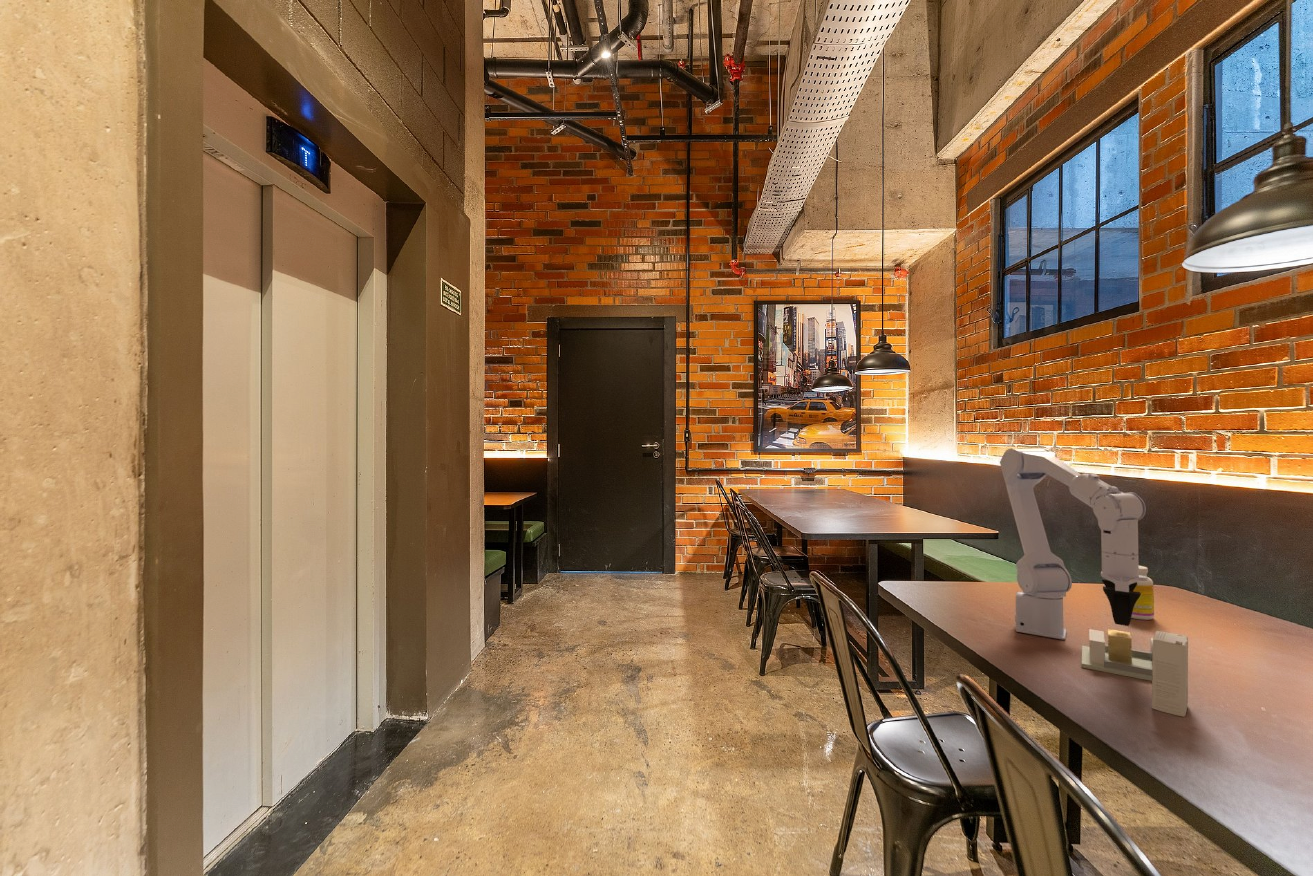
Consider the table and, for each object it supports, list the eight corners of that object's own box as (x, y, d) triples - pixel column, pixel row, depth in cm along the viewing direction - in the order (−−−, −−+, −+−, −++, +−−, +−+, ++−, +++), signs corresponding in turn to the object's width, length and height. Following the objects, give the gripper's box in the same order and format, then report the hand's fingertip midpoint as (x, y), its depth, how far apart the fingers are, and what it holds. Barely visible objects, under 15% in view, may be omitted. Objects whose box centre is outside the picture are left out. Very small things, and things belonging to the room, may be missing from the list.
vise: (1081, 667, 109) (1081, 641, 109) (1082, 649, 119) (1081, 625, 119) (1177, 686, 101) (1177, 657, 101) (1169, 664, 110) (1169, 639, 110)
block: (1109, 662, 110) (1108, 635, 110) (1108, 655, 113) (1107, 629, 113) (1132, 666, 107) (1131, 638, 107) (1130, 659, 111) (1129, 632, 111)
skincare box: (1154, 697, 96) (1153, 629, 96) (1190, 706, 93) (1188, 635, 93) (1151, 709, 92) (1149, 638, 92) (1188, 719, 89) (1186, 645, 89)
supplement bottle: (1160, 621, 136) (1159, 570, 136) (1130, 620, 137) (1129, 569, 138) (1142, 613, 143) (1141, 564, 143) (1113, 611, 144) (1112, 563, 144)
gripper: (1149, 561, 102) (1150, 633, 102) (1143, 548, 113) (1144, 614, 113) (1101, 556, 106) (1102, 626, 106) (1099, 545, 118) (1100, 608, 118)
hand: (1120, 619), depth 110 cm, fingers open, 7 cm apart
